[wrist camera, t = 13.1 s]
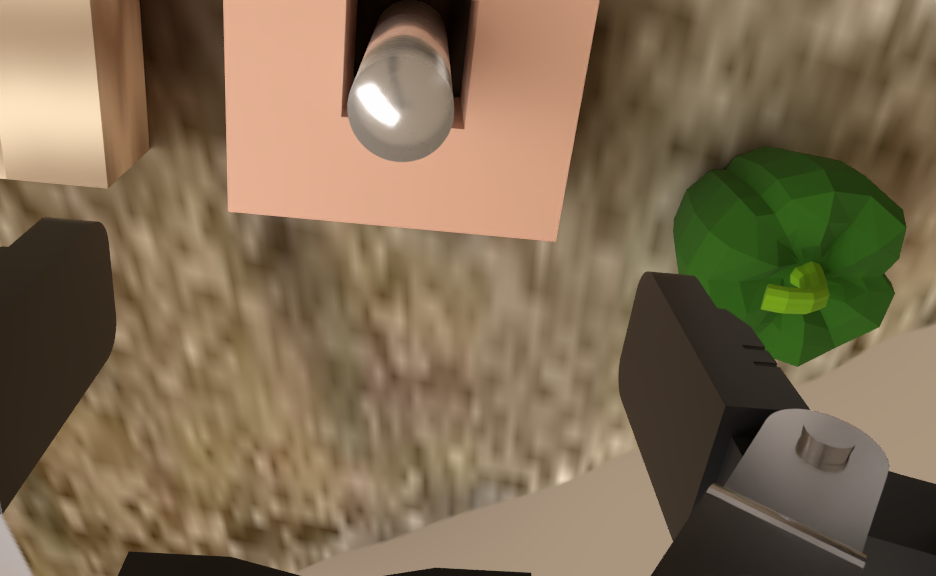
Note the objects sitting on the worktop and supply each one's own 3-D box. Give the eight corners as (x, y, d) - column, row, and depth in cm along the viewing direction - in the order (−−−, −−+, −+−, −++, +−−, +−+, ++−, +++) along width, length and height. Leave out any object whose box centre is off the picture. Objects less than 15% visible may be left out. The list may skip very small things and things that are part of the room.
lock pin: (377, -5, 32) (349, 50, 21) (450, 3, 32) (459, 62, 22) (372, 69, 33) (345, 156, 23) (443, 77, 34) (448, 166, 23)
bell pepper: (867, 172, 36) (1008, 265, 27) (757, 311, 40) (851, 434, 31) (723, 86, 34) (825, 156, 25) (618, 239, 37) (676, 350, 29)
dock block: (251, -163, 29) (219, -172, 25) (593, -118, 30) (620, -118, 26) (254, 170, 35) (227, 211, 31) (540, 197, 36) (555, 241, 32)
